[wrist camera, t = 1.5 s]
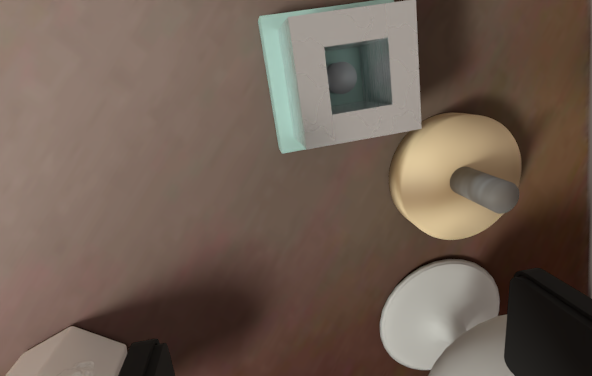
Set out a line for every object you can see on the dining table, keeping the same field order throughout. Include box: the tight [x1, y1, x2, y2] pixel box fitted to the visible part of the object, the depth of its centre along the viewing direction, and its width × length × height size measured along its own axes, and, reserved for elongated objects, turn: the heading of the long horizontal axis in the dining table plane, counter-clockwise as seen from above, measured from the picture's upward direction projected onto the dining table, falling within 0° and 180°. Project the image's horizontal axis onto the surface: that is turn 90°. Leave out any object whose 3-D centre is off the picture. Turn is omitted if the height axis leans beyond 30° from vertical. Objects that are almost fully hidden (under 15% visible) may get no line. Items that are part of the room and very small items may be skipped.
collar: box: [278, 0, 422, 149], centre depth 22 cm, size 7×7×5 cm
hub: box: [389, 112, 522, 240], centre depth 27 cm, size 10×10×7 cm
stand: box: [258, 0, 394, 153], centre depth 25 cm, size 9×9×4 cm
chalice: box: [380, 259, 515, 376], centre depth 27 cm, size 14×14×15 cm
